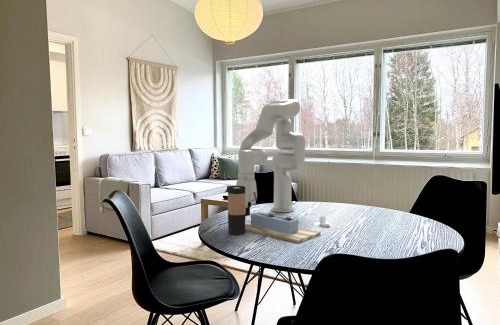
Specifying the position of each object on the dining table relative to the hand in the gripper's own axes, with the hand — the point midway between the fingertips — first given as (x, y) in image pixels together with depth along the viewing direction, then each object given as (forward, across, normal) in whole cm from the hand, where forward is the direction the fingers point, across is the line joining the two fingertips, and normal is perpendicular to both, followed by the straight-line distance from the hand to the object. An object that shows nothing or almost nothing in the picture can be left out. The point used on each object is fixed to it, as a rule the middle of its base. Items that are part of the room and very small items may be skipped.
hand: (246, 215), depth 180 cm
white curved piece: (+5, +26, +21) cm, 34 cm away
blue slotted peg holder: (+3, +16, 0) cm, 17 cm away
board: (+4, +19, 0) cm, 20 cm away
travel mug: (+4, +7, -14) cm, 16 cm away
